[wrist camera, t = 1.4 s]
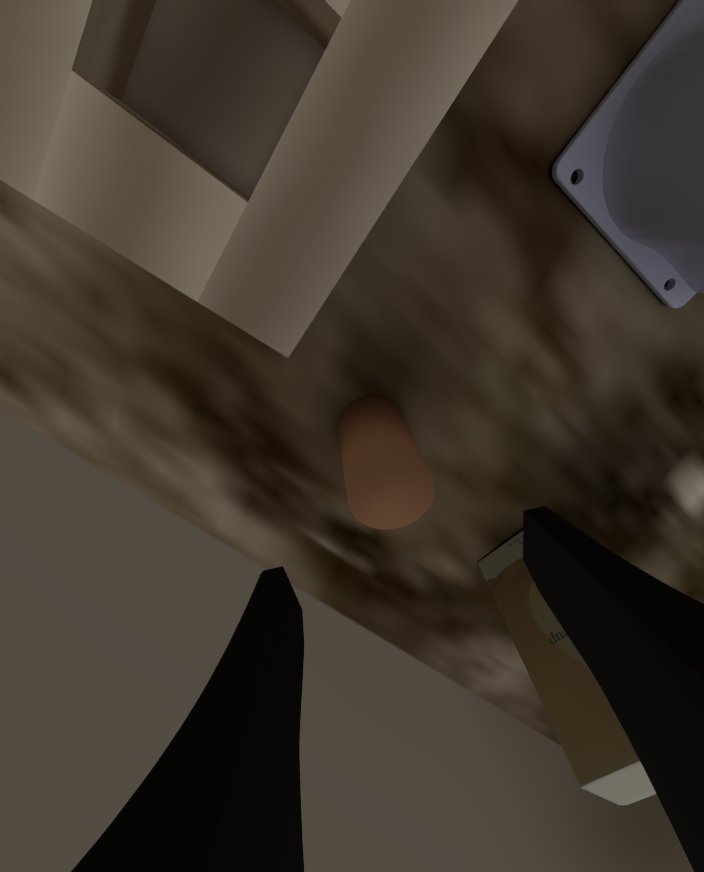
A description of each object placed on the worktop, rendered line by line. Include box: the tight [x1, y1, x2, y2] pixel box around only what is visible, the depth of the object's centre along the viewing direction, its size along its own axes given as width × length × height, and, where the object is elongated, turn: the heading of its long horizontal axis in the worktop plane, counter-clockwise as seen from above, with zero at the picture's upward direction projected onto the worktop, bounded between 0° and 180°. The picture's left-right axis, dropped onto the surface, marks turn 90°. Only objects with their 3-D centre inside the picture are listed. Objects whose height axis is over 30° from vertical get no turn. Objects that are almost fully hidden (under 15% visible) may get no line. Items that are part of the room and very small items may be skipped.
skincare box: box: [478, 531, 656, 805], centre depth 21 cm, size 6×4×12 cm
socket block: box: [0, 0, 518, 358], centre depth 12 cm, size 12×12×4 cm
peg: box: [338, 395, 435, 530], centre depth 18 cm, size 4×4×6 cm
